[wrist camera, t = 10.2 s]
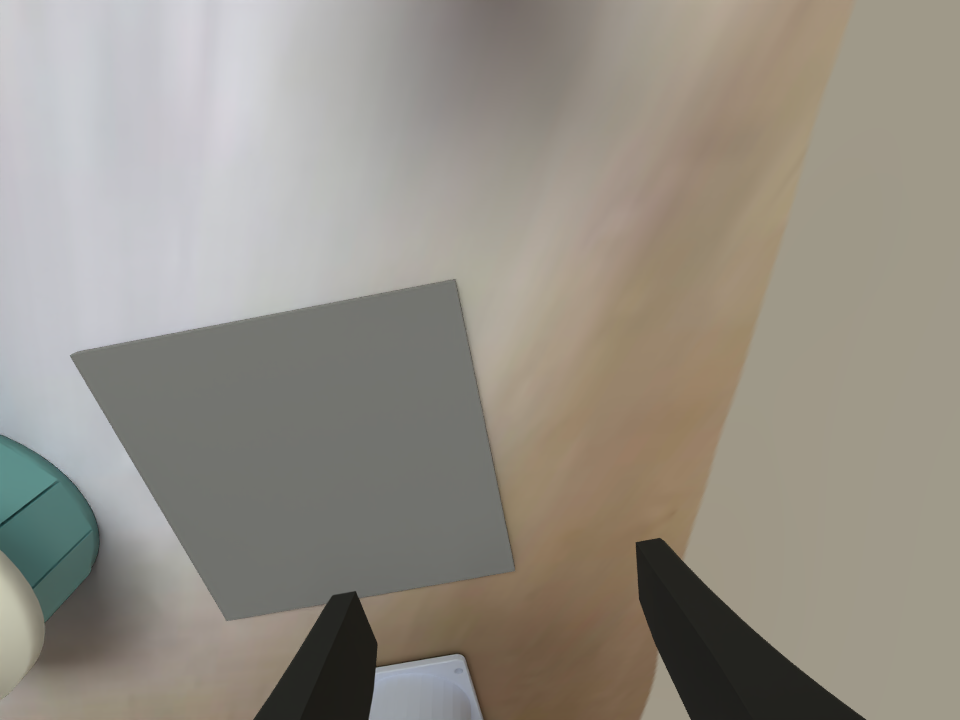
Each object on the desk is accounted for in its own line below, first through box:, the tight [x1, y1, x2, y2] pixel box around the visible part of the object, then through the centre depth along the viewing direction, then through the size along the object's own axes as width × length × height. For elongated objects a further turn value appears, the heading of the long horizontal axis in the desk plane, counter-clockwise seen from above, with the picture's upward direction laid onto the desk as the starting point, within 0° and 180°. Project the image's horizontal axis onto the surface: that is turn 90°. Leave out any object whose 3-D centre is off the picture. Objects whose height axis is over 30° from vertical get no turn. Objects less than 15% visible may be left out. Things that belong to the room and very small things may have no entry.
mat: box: [70, 279, 515, 621], centre depth 21 cm, size 16×16×1 cm
